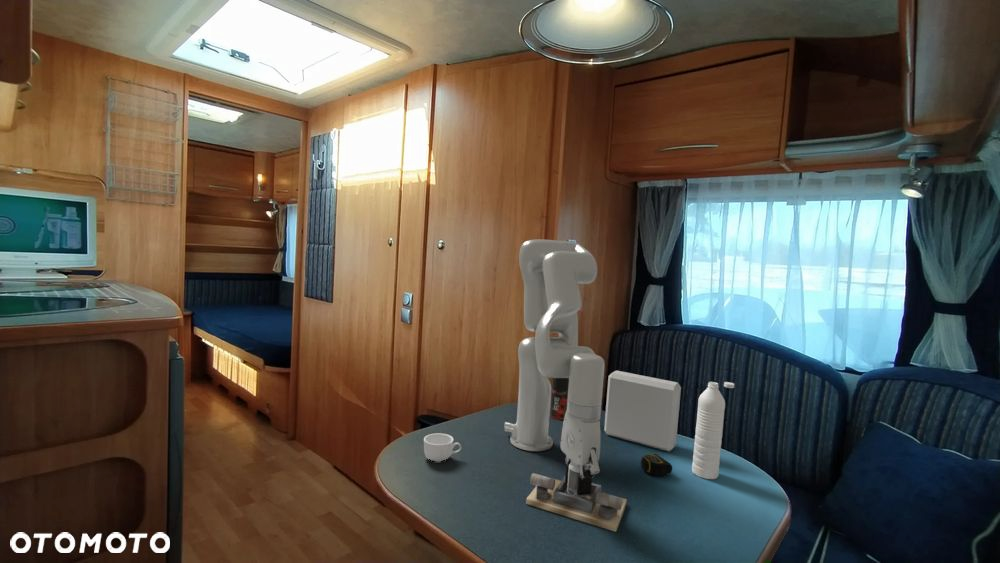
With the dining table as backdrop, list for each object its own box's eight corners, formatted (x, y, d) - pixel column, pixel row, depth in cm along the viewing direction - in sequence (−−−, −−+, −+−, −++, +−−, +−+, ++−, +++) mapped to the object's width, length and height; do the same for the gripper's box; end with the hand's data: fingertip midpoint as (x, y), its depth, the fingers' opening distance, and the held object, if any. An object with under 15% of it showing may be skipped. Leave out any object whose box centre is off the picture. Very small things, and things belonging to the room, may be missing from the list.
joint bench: (525, 503, 103) (527, 479, 102) (543, 480, 113) (545, 458, 113) (616, 532, 94) (618, 505, 94) (626, 504, 105) (628, 480, 105)
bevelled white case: (677, 445, 141) (683, 381, 139) (671, 454, 134) (677, 387, 133) (610, 427, 152) (615, 368, 151) (602, 435, 145) (607, 373, 144)
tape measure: (672, 477, 120) (674, 463, 120) (650, 479, 118) (652, 465, 118) (656, 465, 127) (657, 451, 126) (635, 467, 125) (636, 453, 124)
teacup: (421, 465, 118) (422, 444, 117) (424, 451, 125) (425, 432, 125) (460, 466, 118) (461, 445, 118) (460, 453, 126) (461, 433, 126)
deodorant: (549, 418, 157) (552, 375, 156) (550, 412, 163) (553, 371, 162) (566, 420, 156) (570, 377, 155) (567, 414, 162) (570, 372, 161)
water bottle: (698, 479, 119) (707, 385, 118) (687, 467, 126) (695, 378, 124) (731, 480, 120) (740, 387, 118) (718, 469, 126) (727, 380, 124)
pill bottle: (591, 497, 102) (594, 461, 101) (571, 499, 101) (574, 462, 100) (582, 486, 107) (585, 451, 106) (563, 487, 106) (566, 452, 105)
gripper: (551, 397, 109) (546, 471, 110) (588, 425, 93) (581, 510, 94) (579, 396, 112) (573, 468, 113) (620, 422, 96) (613, 506, 97)
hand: (577, 486), depth 104 cm, fingers closed on pill bottle, 4 cm apart
